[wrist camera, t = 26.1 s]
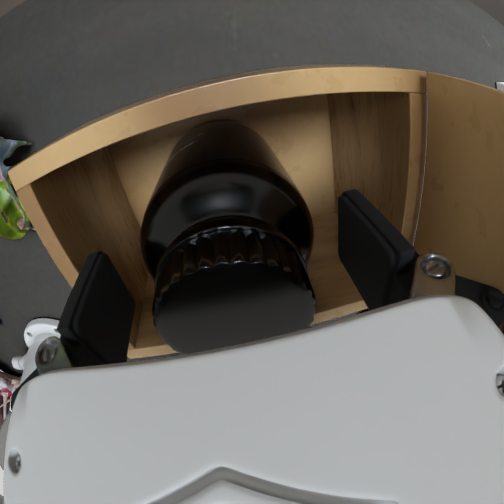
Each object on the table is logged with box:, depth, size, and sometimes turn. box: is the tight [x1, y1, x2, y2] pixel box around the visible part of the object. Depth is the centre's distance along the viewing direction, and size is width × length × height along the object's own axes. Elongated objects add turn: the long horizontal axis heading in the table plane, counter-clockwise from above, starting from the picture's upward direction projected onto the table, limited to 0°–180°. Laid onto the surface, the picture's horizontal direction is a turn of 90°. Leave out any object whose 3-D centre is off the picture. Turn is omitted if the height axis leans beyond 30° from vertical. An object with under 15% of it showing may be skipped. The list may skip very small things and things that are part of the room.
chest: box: [8, 64, 427, 359], centre depth 14 cm, size 16×12×9 cm
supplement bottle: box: [140, 121, 316, 355], centre depth 12 cm, size 7×7×12 cm
